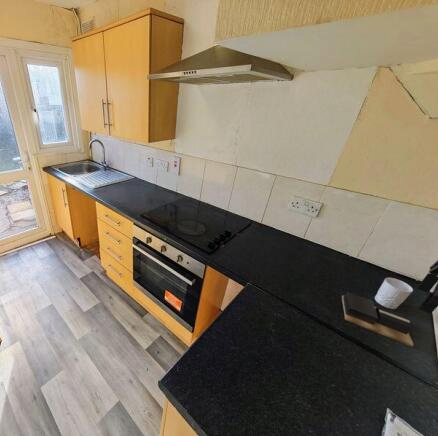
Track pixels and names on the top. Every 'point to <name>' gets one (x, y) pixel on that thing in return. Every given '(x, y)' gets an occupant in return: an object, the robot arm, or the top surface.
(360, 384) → the top surface
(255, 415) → the top surface
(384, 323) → the loose pad
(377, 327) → the mount board
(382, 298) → the white cup
